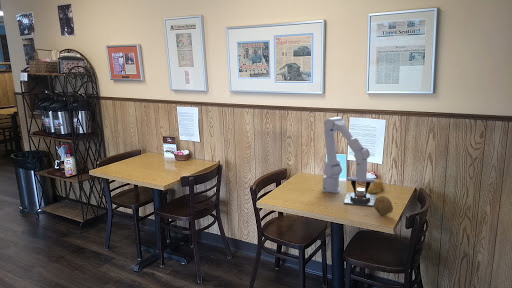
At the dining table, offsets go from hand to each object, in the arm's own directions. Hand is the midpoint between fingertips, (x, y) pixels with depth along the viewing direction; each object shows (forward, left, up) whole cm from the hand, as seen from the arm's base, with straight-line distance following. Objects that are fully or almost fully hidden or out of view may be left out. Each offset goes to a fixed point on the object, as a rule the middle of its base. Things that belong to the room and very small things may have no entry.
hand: (360, 194), depth 212 cm
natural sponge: (+12, -17, -4) cm, 21 cm away
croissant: (+6, +20, -4) cm, 21 cm away
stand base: (0, 0, -4) cm, 4 cm away
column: (0, 0, -4) cm, 4 cm away
